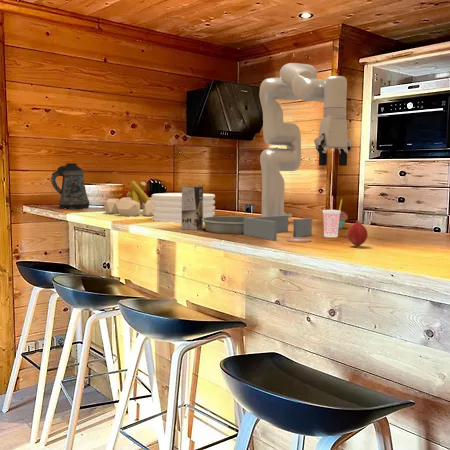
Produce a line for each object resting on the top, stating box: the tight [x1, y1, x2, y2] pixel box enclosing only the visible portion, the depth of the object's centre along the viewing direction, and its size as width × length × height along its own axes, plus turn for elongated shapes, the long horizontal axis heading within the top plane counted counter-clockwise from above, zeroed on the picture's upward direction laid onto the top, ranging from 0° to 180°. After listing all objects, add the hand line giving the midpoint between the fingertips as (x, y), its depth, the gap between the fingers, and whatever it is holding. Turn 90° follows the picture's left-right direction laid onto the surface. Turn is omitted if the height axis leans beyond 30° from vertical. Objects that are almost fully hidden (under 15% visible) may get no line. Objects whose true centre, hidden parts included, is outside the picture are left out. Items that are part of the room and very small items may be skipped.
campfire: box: [102, 180, 154, 217], centre depth 260 cm, size 35×34×17 cm
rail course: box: [243, 215, 313, 241], centre depth 179 cm, size 20×16×6 cm
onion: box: [347, 219, 368, 248], centre depth 155 cm, size 6×6×8 cm
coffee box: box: [181, 186, 204, 231], centre depth 197 cm, size 9×6×16 cm
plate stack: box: [151, 192, 216, 224], centre depth 232 cm, size 28×28×12 cm
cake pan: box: [202, 215, 250, 235], centre depth 194 cm, size 25×25×4 cm
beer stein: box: [50, 162, 90, 210], centre depth 287 cm, size 16×19×25 cm
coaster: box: [285, 236, 312, 243], centre depth 167 cm, size 8×8×1 cm
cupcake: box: [338, 199, 349, 230], centre depth 204 cm, size 9×8×12 cm
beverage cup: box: [322, 195, 342, 238], centre depth 178 cm, size 6×6×14 cm
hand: (332, 165), depth 176 cm, fingers open, 9 cm apart
